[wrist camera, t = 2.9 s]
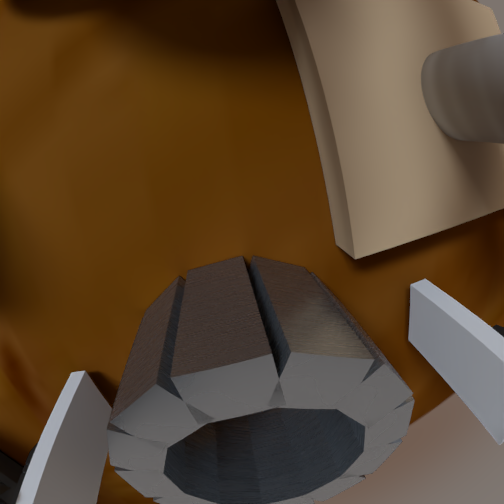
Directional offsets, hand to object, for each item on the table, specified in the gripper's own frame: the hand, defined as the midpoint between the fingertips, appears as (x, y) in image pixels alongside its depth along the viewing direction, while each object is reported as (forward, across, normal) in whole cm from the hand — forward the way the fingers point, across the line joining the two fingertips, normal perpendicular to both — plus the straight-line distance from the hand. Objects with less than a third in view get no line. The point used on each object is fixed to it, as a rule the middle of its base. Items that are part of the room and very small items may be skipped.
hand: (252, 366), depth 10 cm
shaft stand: (+1, +9, +8) cm, 12 cm away
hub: (0, 0, 0) cm, 1 cm away
